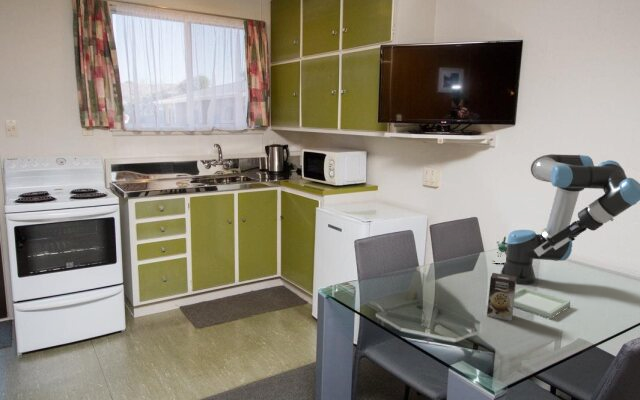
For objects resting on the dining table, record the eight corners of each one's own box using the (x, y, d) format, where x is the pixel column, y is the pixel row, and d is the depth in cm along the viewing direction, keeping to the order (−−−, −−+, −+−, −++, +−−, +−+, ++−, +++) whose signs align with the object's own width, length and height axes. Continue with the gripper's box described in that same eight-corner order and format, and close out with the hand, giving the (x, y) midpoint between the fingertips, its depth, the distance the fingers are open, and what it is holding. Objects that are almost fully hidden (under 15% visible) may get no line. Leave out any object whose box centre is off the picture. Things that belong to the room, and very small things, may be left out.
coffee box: (486, 316, 179) (489, 277, 176) (488, 310, 185) (492, 272, 182) (511, 321, 175) (515, 281, 172) (513, 315, 181) (516, 276, 178)
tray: (501, 302, 192) (501, 297, 192) (522, 292, 203) (522, 287, 203) (550, 319, 177) (550, 313, 177) (569, 307, 188) (570, 301, 188)
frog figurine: (520, 260, 248) (522, 234, 244) (501, 270, 238) (502, 243, 234) (504, 255, 256) (505, 230, 252) (485, 265, 245) (486, 239, 242)
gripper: (589, 229, 142) (536, 265, 155) (616, 219, 158) (566, 252, 172) (572, 210, 145) (522, 246, 159) (601, 202, 161) (553, 236, 175)
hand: (545, 249), depth 165 cm, fingers open, 13 cm apart
